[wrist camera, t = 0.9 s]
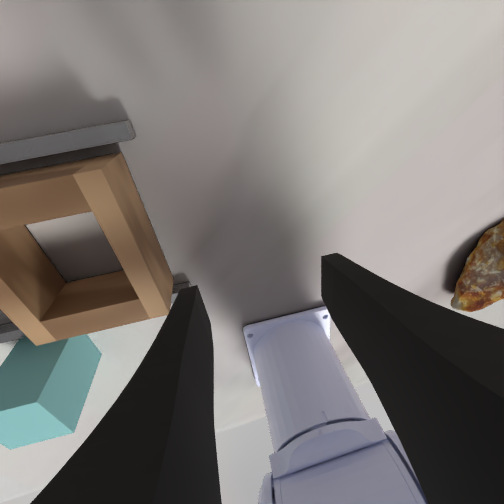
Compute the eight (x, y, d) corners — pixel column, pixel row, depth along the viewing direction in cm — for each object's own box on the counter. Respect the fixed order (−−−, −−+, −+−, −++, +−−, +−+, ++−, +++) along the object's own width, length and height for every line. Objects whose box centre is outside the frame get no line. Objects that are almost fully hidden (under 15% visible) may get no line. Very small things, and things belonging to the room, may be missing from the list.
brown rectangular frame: (173, 279, 19) (169, 314, 16) (61, 304, 18) (36, 345, 15) (121, 152, 14) (101, 168, 11) (-35, 182, 13) (-100, 208, 10)
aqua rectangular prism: (101, 353, 22) (73, 432, 17) (53, 365, 22) (10, 449, 17) (77, 322, 20) (36, 401, 15) (22, 334, 19) (-38, 421, 14)
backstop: (192, 289, 20) (191, 324, 17) (-34, 342, 19) (-76, 388, 16) (129, 119, 13) (110, 128, 10) (-224, 184, 12) (-356, 214, 9)
